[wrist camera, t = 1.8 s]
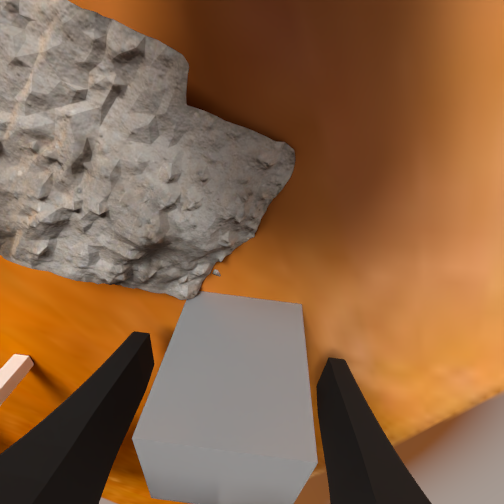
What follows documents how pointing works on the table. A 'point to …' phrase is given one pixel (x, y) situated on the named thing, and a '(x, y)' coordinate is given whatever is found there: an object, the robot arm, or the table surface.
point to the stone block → (230, 406)
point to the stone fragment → (119, 156)
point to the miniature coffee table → (13, 374)
